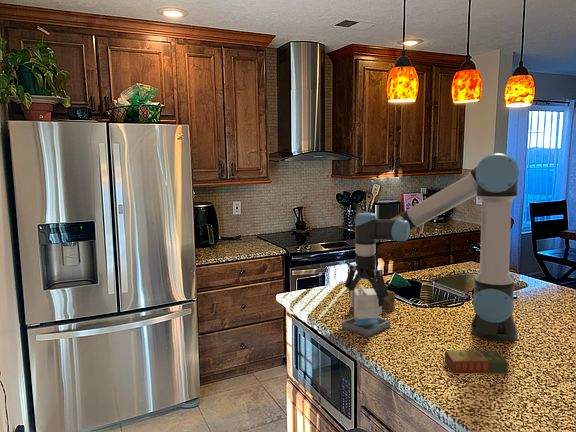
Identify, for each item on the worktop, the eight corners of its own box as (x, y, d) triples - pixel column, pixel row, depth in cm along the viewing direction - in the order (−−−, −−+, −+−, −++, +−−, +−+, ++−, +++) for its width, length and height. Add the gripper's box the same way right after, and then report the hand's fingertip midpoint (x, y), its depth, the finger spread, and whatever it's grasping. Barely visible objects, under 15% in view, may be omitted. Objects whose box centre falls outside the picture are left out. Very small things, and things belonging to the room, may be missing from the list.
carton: (444, 362, 136) (444, 349, 135) (496, 362, 135) (496, 349, 134) (452, 374, 127) (453, 361, 127) (508, 375, 126) (508, 361, 126)
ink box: (379, 325, 159) (379, 290, 157) (356, 325, 159) (356, 290, 158) (375, 316, 168) (374, 283, 166) (353, 317, 168) (353, 284, 166)
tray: (390, 327, 164) (390, 320, 163) (367, 337, 155) (367, 331, 154) (364, 318, 173) (364, 312, 173) (341, 328, 164) (341, 321, 164)
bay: (394, 310, 181) (394, 292, 180) (374, 319, 172) (374, 300, 171) (369, 303, 191) (369, 286, 190) (349, 311, 182) (349, 293, 181)
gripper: (398, 257, 154) (398, 315, 156) (347, 248, 171) (348, 300, 174) (386, 261, 149) (385, 320, 152) (335, 251, 167) (335, 304, 169)
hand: (365, 310), depth 163 cm, fingers closed on ink box, 11 cm apart
